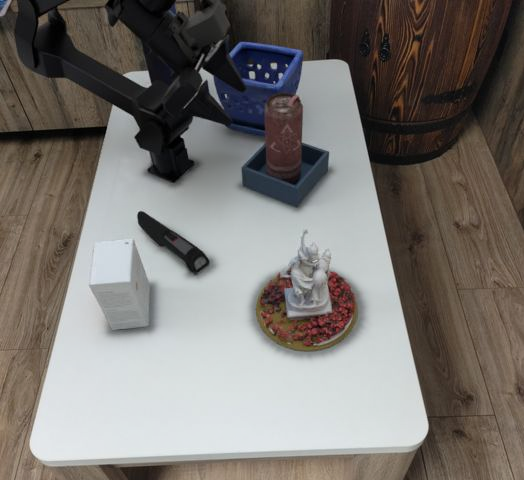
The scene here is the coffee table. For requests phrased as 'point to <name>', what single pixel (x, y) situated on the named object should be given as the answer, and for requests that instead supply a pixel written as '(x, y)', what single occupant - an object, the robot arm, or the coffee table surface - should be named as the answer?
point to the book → (158, 64)
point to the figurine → (307, 303)
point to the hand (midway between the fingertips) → (238, 106)
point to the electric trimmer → (173, 243)
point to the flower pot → (258, 83)
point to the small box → (120, 284)
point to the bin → (292, 194)
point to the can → (284, 136)
